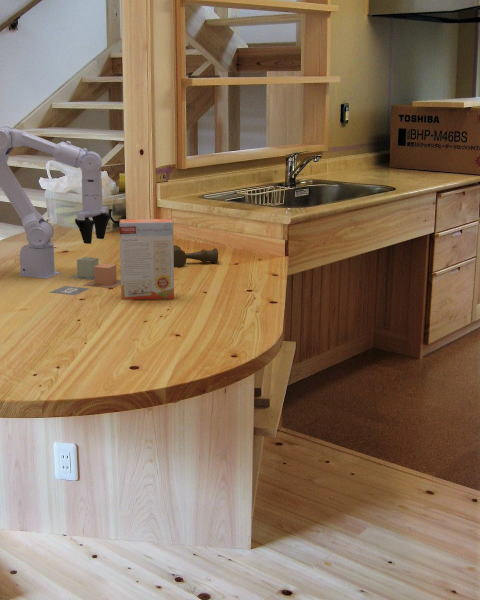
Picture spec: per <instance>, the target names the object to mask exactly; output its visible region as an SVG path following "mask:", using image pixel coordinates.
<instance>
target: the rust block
mask: <svg viewBox="0 0 480 600" xmlns="http://www.w3.org/2000/svg"><path fill="white" fill-rule="evenodd" d="M94 275H95V284H99V285H111V284H113V283H115V282H117V280H118V279H117V264H111V263H110V264H109V263H100V264H99V265H97V266H95V267H94Z"/></svg>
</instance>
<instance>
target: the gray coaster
mask: <svg viewBox="0 0 480 600" xmlns="http://www.w3.org/2000/svg"><path fill="white" fill-rule="evenodd" d="M69 278H71V279H79V280H90V281H94V280H95V277H92V278H86V277H78V274H74V275H72V276H70V277H69Z"/></svg>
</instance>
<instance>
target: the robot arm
mask: <svg viewBox="0 0 480 600" xmlns="http://www.w3.org/2000/svg"><path fill="white" fill-rule="evenodd" d="M19 147H28V148H31V149H35V150H37V151H40V152H44V153H47V154H49V155H53V158H54V160H55V161H56V162H59V163H62V164H65V165H67V166H70V167H72V168H75V169H78V168H79V169H80V170H81V197H82V210H80V211H79V212H77V213H76V218H75V219H74V223H75V225H76V226H77V228H78V229H79V231H80V232H79V233H80V234H81V237H82V238H81V239H82V242H83V244H87V245H90V244H92V240H93V229H94V231H95V236H96V239H97V240H104V239H105V236H106V230H107V226H108V224H109V222H110V219H111V217H112V216H111V214H110V213H109V206H104V204H103V179H102V169H101V168H102V165H103V159H102V157H101V155H100V154H99V153H98V152H95V151H93V150H89V151H88V148H86V147H84V148H81V147H78V146H76V145H73V144H72V142H71V141H69V140H68V141H67V140H66V142H64V141H61V142H59V143H55V142H52V141H50V140H47V139H45V138H42V137H41V136H37V135H35V134H32V133H30V132H28V131H25V130H22V129H18V128H12V127H10V126H5V125H4V126H1V127H0V188H1V189H2V191H3V193H4V195H5V196H6V197H7V199H8V201H9V202H10V204H11V205H12V207H13V209H14V210H15V212H16V213H17V215H18V217H19V218H20V220H21V223H22V228H23V229H24V231H25V234H26V240H27V242H28V244H24V245H23V246H22V247H21V248H20V251H19V265H20V267H19V268H20V273H19V274H18V275H19V277H26V278H33V279H35V278H36V279H47V280H48V279H50V278H53V277H56V276H58V275H59V274H61V273H62V272H61V271H57V270H56V269H55V266H56V265H55V245H54V243H53V241H52V240H51V239H52V238H53V236H54V232H55V231H54V227H53V225H52V224H51V223H50V222H49V221H47V220H46V219H45V218H44V217H43V215H42V214H41V213H40V212H39V211H37V209H36V208H35V206H34V204H33V203H32V201H31V200H30V198H29V196H28V195H27V193H26V191H25V190H24V189H23V186H22V185H21V184H20V181H18V179H17V177H16V175H15V174H14V172H13V170H12V169H11V167H10V166H9V164H8V161H9V157H10V155H11V154H10V153H11V151H12V150H13V149H14V148H19ZM108 213H109V214H108ZM90 218H91V219H90Z"/></svg>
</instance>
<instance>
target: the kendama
mask: <svg viewBox="0 0 480 600" xmlns="http://www.w3.org/2000/svg"><path fill="white" fill-rule="evenodd" d="M173 251H174V268H182V267H184V266H185V264H186V263H187V259H190V260H194V261H195V260H196V261H200V262H201V263H203V264H205V263H206V262H211V263H213V264H215V265H216V264H218V262H219V251H218V249H217V248H216V247H215V248H213V249H211V250H206V249H201V250H200V251H195V252H188V253H186V252H185V251H184V250H183V249H182V248H181V247H180V246H178V245H176V244H173Z"/></svg>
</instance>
